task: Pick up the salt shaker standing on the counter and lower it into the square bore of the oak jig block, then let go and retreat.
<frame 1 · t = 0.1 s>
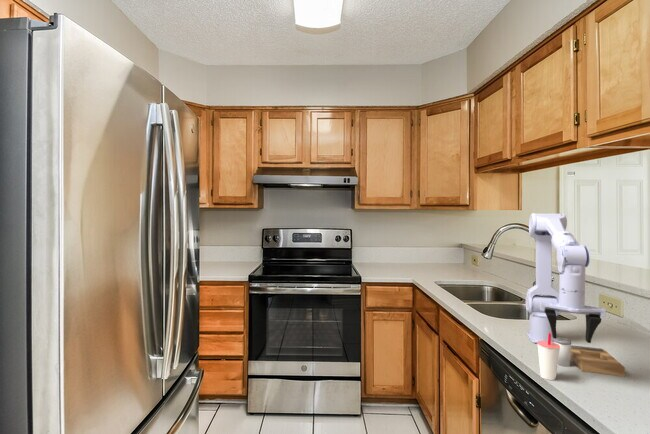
hand: (570, 339, 96), 10 cm above the counter, tool pointing down, fingers open, 7 cm apart
cup: (547, 377, 96), on the counter
salt shaker: (562, 363, 104), on the counter
jig: (593, 363, 104), on the counter
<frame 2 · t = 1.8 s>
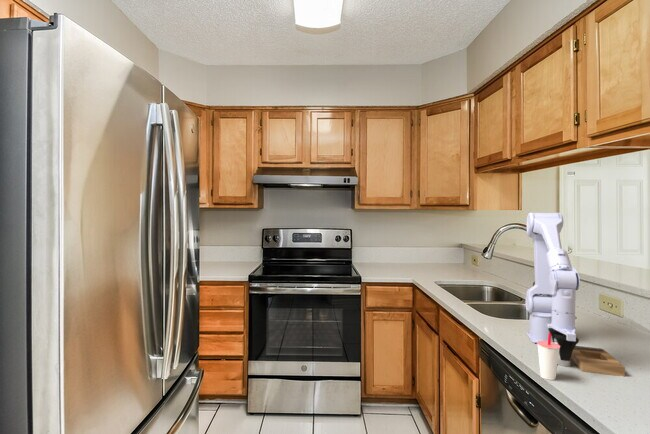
hand: (562, 357, 104), 2 cm above the counter, tool pointing down, fingers closed on salt shaker, 4 cm apart
salt shaker: (562, 363, 104), on the counter, touching gripper
everything else where it was.
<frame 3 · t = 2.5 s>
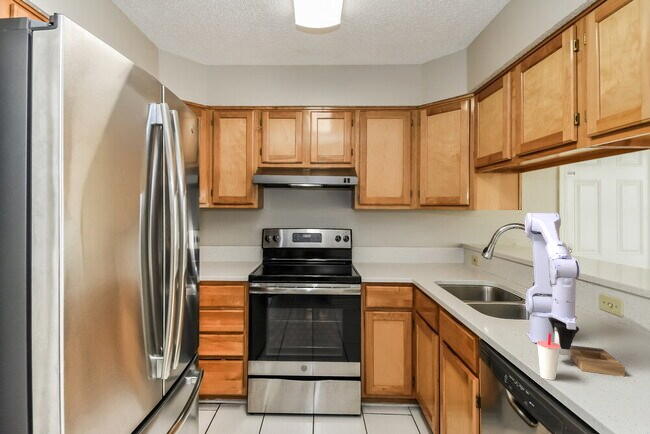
hand: (562, 345, 104), 5 cm above the counter, tool pointing down, fingers closed on salt shaker, 4 cm apart
salt shaker: (562, 352, 104), point 3 cm above the counter, touching gripper
everything else where it was.
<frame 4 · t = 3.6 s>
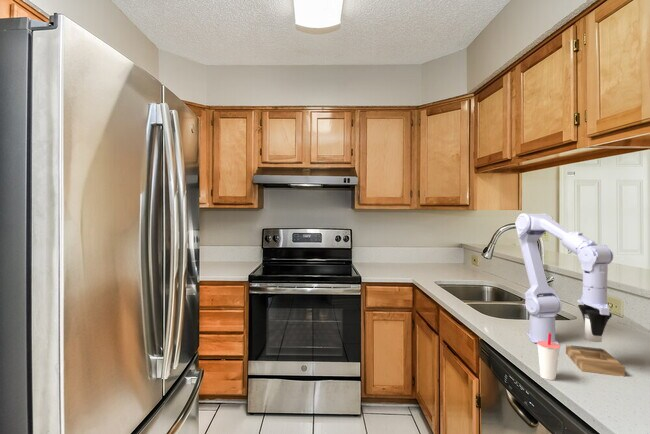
hand: (593, 332, 104), 9 cm above the counter, tool pointing down, fingers closed on salt shaker, 4 cm apart
salt shaker: (593, 339, 104), point 7 cm above the counter, touching gripper
everything else where it was.
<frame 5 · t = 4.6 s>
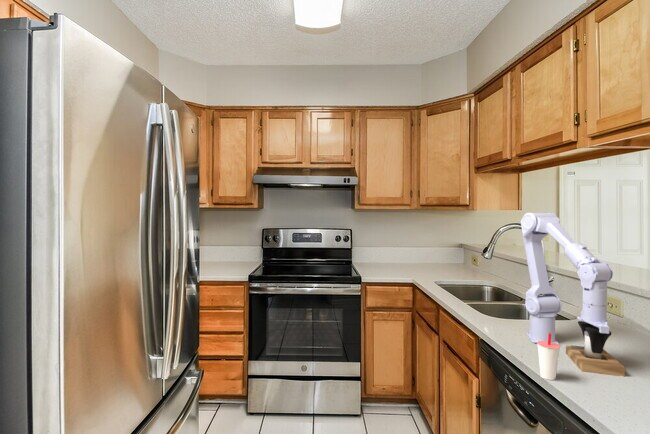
hand: (593, 349, 104), 4 cm above the counter, tool pointing down, fingers closed on salt shaker, 4 cm apart
salt shaker: (592, 356, 104), point 2 cm above the counter, touching gripper
everything else where it was.
when the fingers open (3 cm above the counter, at t = 5.3 s): salt shaker drops 1 cm, resting in jig.
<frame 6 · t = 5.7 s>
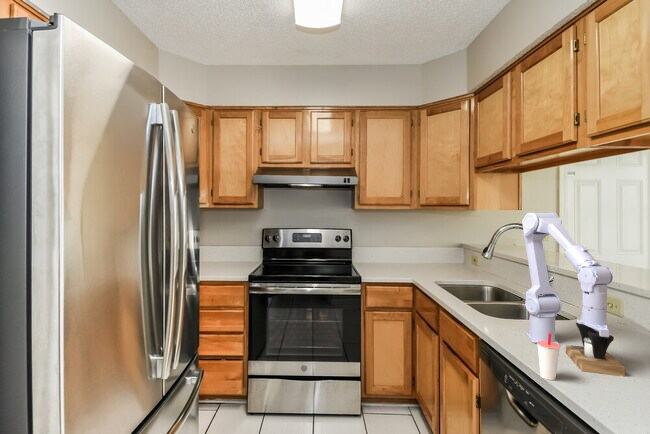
hand: (593, 353, 104), 3 cm above the counter, tool pointing down, fingers open, 7 cm apart
salt shaker: (592, 363, 104), resting in jig
everything else where it was.
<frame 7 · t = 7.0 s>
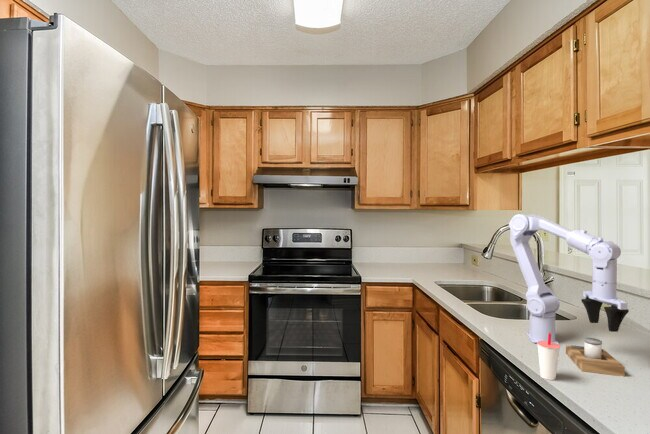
hand: (603, 326, 107), 10 cm above the counter, tool pointing down, fingers open, 7 cm apart
nothing on the counter moved.
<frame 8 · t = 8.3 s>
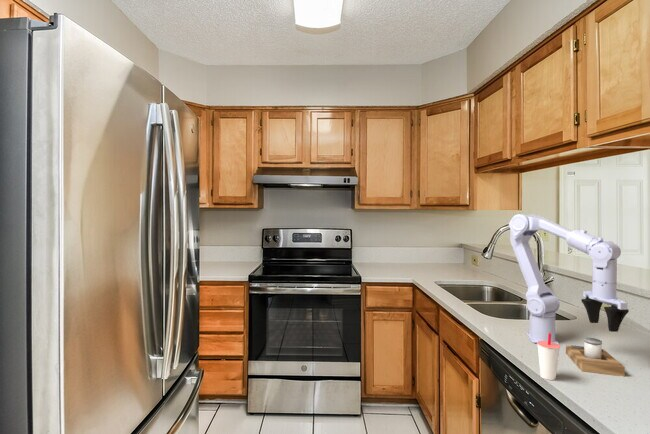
hand: (603, 326, 107), 10 cm above the counter, tool pointing down, fingers open, 7 cm apart
nothing on the counter moved.
at the end: salt shaker 0.1 cm off-centre on the jig, point 0.0 cm above the jig's base; salt shaker tilted 0°; the gripper is holding nothing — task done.
